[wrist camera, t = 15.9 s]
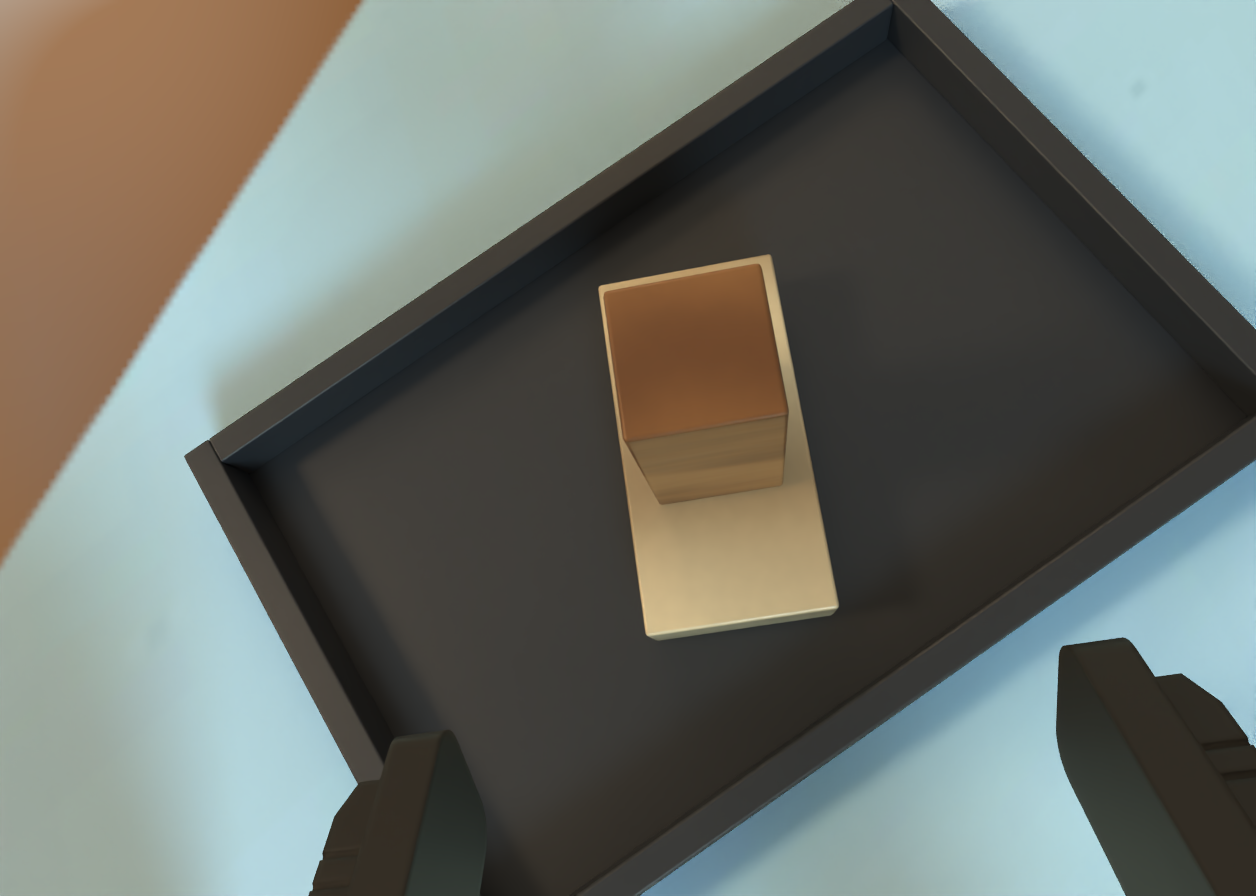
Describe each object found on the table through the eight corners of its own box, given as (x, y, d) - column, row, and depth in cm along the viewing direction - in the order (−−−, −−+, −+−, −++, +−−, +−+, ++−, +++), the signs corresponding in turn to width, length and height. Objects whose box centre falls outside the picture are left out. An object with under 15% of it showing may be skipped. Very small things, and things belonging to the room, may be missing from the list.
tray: (890, 20, 28) (900, -33, 26) (1284, 430, 24) (1333, 405, 22) (225, 473, 27) (182, 455, 25) (502, 983, 23) (477, 1010, 21)
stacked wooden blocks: (609, 314, 26) (545, 158, 19) (770, 284, 26) (773, 112, 18) (655, 641, 24) (602, 616, 16) (834, 615, 23) (867, 577, 16)
